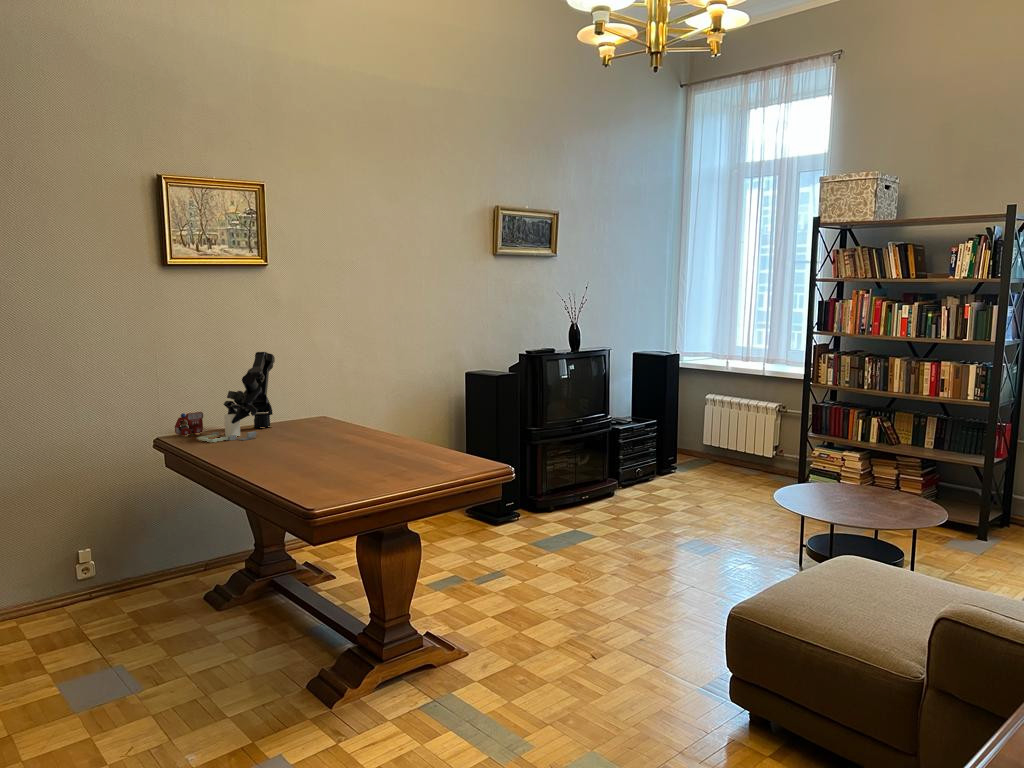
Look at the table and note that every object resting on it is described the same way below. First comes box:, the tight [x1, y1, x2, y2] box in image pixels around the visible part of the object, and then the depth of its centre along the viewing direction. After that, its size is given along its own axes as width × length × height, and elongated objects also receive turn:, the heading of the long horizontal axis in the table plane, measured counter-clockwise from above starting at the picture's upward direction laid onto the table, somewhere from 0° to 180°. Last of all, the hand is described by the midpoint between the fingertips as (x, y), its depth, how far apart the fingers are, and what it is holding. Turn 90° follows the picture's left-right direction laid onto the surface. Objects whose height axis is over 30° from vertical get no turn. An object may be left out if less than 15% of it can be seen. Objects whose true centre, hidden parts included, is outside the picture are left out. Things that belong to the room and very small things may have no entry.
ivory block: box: [223, 413, 241, 438], centre depth 335 cm, size 5×5×10 cm
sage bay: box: [196, 434, 230, 444], centre depth 328 cm, size 9×11×2 cm
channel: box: [210, 431, 257, 442], centre depth 335 cm, size 13×25×2 cm, turn 52°
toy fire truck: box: [174, 411, 204, 436], centre depth 342 cm, size 7×12×10 cm, turn 129°
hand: (229, 422), depth 333 cm, fingers closed on ivory block, 5 cm apart
